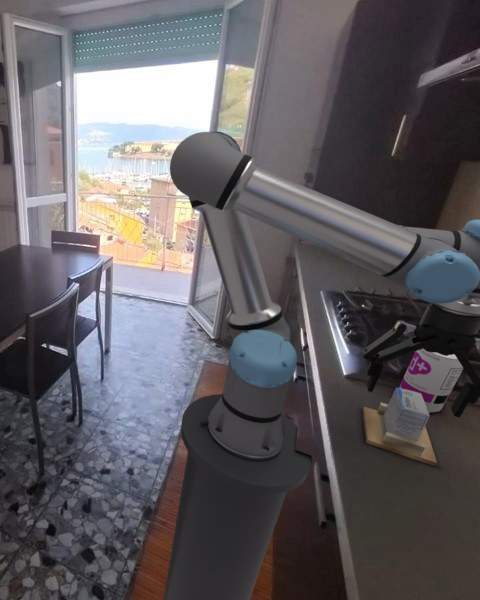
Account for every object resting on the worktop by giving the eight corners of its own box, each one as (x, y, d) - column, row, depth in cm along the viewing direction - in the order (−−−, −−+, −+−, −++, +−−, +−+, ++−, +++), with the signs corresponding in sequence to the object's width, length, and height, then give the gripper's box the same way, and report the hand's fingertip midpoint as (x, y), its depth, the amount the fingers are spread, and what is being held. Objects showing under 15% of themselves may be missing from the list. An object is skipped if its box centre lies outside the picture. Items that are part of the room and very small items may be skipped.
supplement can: (405, 410, 84) (430, 357, 78) (390, 388, 91) (412, 338, 85) (447, 417, 82) (478, 363, 75) (429, 395, 89) (455, 344, 82)
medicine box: (414, 448, 72) (431, 415, 69) (386, 439, 75) (402, 407, 71) (407, 424, 78) (422, 393, 75) (381, 416, 81) (395, 386, 77)
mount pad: (366, 443, 75) (371, 430, 74) (362, 409, 84) (367, 398, 83) (435, 466, 70) (442, 453, 68) (423, 427, 79) (429, 415, 77)
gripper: (373, 299, 67) (338, 388, 76) (572, 336, 55) (503, 437, 64) (370, 286, 73) (337, 370, 82) (549, 317, 61) (488, 412, 70)
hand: (410, 400), depth 73 cm, fingers open, 13 cm apart
